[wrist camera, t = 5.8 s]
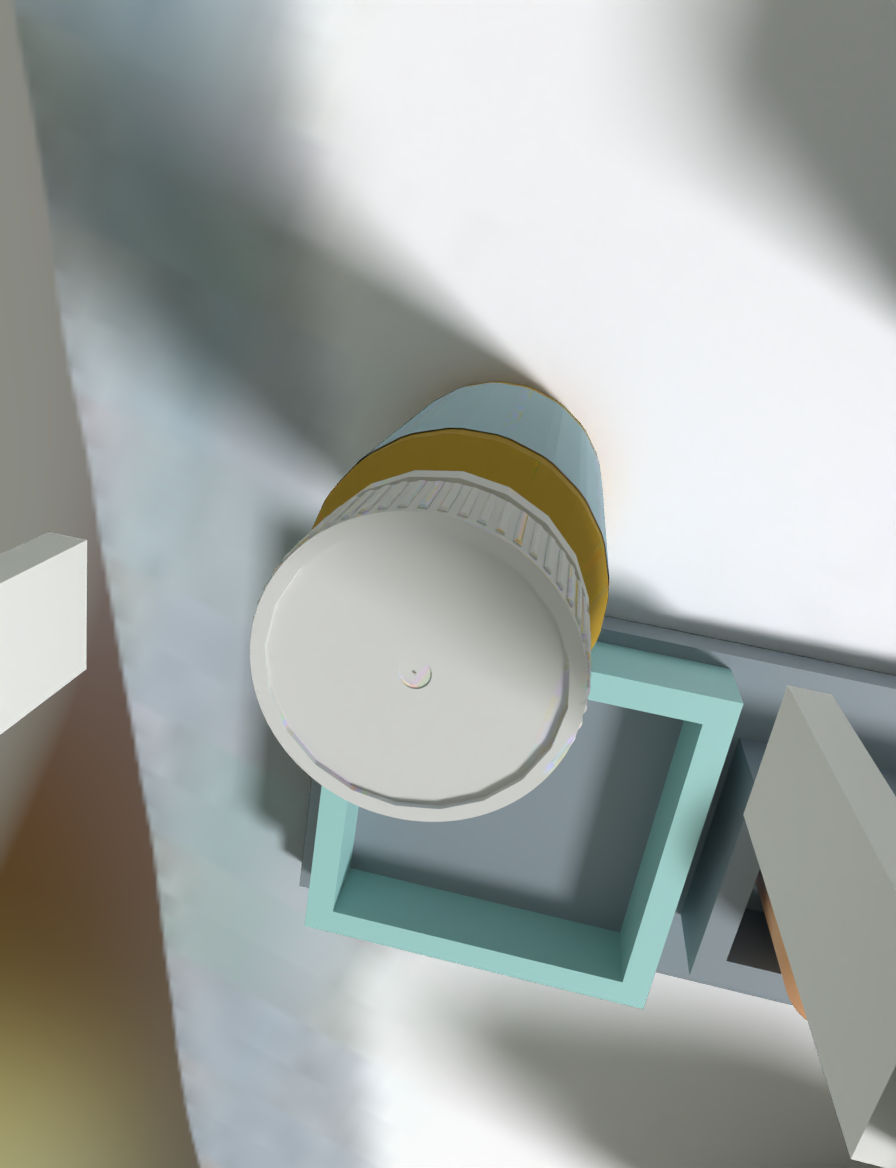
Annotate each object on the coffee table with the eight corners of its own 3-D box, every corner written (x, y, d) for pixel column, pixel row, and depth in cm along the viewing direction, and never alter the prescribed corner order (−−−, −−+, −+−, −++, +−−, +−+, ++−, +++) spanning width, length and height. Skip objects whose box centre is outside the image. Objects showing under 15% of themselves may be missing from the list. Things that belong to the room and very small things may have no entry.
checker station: (344, 562, 30) (308, 604, 27) (1024, 702, 28) (1094, 769, 24) (308, 866, 36) (274, 939, 32) (882, 1004, 33) (921, 1100, 29)
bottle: (455, 608, 30) (344, 886, 16) (362, 436, 29) (152, 584, 15) (634, 530, 28) (680, 772, 14) (546, 340, 27) (502, 408, 13)
